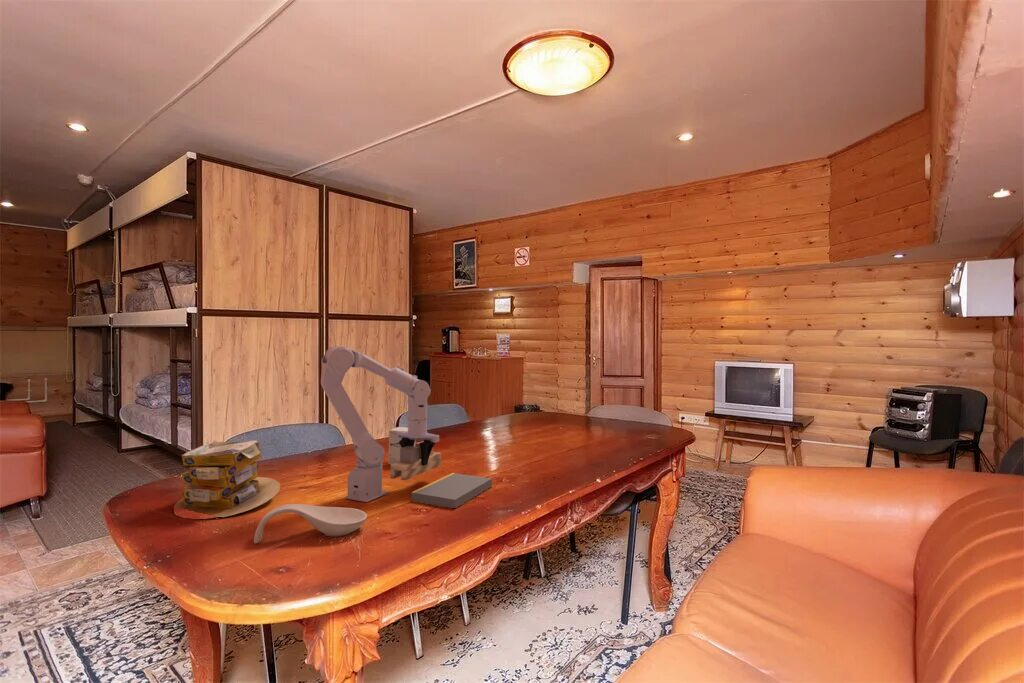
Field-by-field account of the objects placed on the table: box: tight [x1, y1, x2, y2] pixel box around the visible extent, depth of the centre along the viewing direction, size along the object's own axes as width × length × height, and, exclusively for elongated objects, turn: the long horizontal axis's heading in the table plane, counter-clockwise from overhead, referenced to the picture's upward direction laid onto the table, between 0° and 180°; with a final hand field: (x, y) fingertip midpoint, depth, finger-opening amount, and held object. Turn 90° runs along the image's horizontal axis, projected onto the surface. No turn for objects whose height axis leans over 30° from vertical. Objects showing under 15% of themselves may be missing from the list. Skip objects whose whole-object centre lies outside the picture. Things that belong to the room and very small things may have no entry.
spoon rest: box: [253, 503, 368, 544], centre depth 109 cm, size 24×12×7 cm, turn 111°
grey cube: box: [400, 446, 419, 463], centre depth 141 cm, size 4×4×4 cm
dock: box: [410, 472, 493, 509], centre depth 139 cm, size 22×14×3 cm, turn 156°
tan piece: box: [389, 451, 442, 482], centre depth 145 cm, size 19×5×4 cm, turn 156°
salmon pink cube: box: [415, 440, 435, 457], centre depth 148 cm, size 4×4×4 cm
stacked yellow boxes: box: [173, 440, 281, 518], centre depth 129 cm, size 25×25×17 cm
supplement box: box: [388, 426, 417, 465], centre depth 174 cm, size 7×7×13 cm
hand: (416, 463), depth 145 cm, fingers closed on tan piece, 5 cm apart
